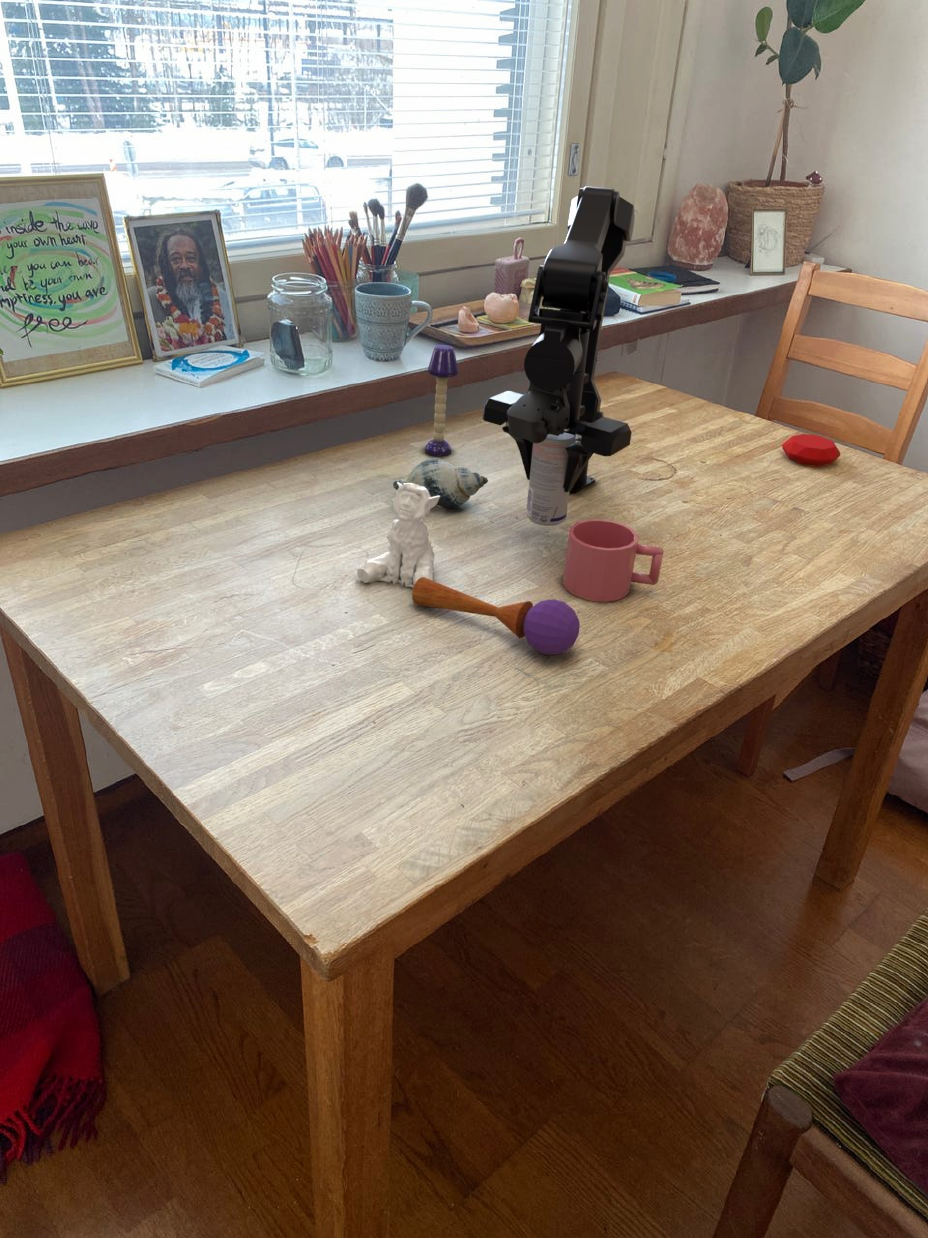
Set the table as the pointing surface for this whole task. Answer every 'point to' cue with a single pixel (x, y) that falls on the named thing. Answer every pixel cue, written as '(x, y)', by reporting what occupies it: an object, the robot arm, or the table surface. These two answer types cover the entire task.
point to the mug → (606, 560)
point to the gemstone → (811, 450)
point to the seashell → (445, 482)
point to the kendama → (510, 615)
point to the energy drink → (549, 480)
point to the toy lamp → (441, 395)
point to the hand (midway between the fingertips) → (548, 485)
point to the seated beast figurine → (405, 541)
